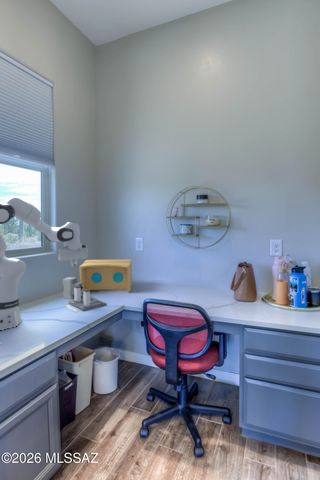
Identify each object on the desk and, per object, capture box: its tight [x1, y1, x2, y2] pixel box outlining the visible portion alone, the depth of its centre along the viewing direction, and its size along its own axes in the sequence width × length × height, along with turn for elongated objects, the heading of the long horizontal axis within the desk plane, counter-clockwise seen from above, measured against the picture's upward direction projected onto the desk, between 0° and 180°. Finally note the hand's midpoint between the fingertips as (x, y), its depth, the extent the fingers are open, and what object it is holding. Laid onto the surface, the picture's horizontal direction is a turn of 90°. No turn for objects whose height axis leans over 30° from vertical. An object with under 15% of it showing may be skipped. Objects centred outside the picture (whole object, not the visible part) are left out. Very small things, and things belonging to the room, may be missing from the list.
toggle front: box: [82, 289, 91, 307], centre depth 186 cm, size 3×4×11 cm
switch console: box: [63, 296, 108, 313], centre depth 193 cm, size 22×22×3 cm
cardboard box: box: [78, 258, 133, 294], centre depth 233 cm, size 40×26×24 cm, turn 92°
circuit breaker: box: [62, 276, 83, 300], centre depth 211 cm, size 8×14×15 cm, turn 78°
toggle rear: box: [73, 285, 82, 302], centre depth 196 cm, size 3×4×11 cm
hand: (74, 266), depth 184 cm, fingers closed
